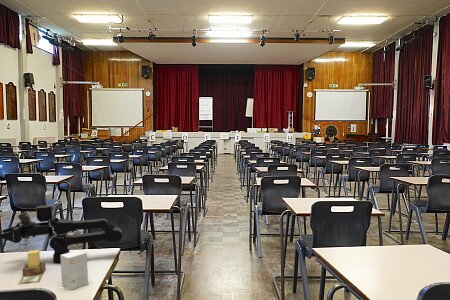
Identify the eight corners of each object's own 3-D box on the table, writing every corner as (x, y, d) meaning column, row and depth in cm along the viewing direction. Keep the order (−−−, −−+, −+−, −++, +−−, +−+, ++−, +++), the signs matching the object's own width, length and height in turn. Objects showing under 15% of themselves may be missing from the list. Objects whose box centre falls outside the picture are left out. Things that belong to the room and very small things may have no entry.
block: (40, 270, 179) (39, 249, 179) (38, 273, 175) (37, 252, 175) (30, 271, 178) (29, 250, 178) (28, 274, 174) (27, 253, 174)
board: (46, 270, 182) (45, 267, 182) (39, 284, 165) (39, 281, 165) (26, 272, 180) (26, 269, 180) (17, 287, 163) (17, 283, 163)
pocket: (45, 268, 182) (45, 261, 181) (42, 274, 174) (42, 267, 174) (26, 270, 179) (26, 263, 179) (22, 276, 172) (22, 269, 172)
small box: (80, 280, 169) (78, 249, 168) (88, 284, 165) (87, 252, 164) (61, 286, 163) (59, 254, 162) (69, 290, 159) (68, 257, 158)
